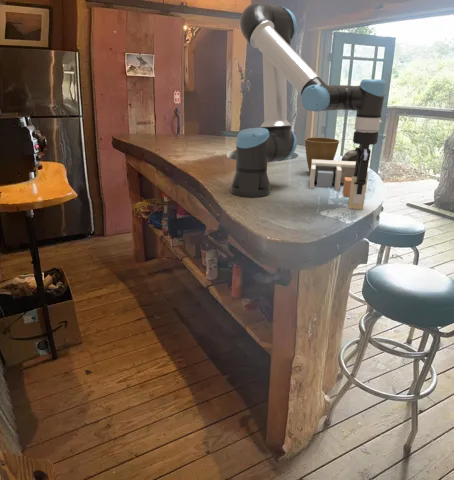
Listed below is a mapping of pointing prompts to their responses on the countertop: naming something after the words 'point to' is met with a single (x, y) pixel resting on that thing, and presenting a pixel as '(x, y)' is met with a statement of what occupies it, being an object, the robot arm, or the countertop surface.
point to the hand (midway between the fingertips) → (356, 200)
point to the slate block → (324, 178)
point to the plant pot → (320, 149)
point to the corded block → (352, 192)
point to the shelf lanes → (338, 167)
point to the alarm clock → (350, 155)
